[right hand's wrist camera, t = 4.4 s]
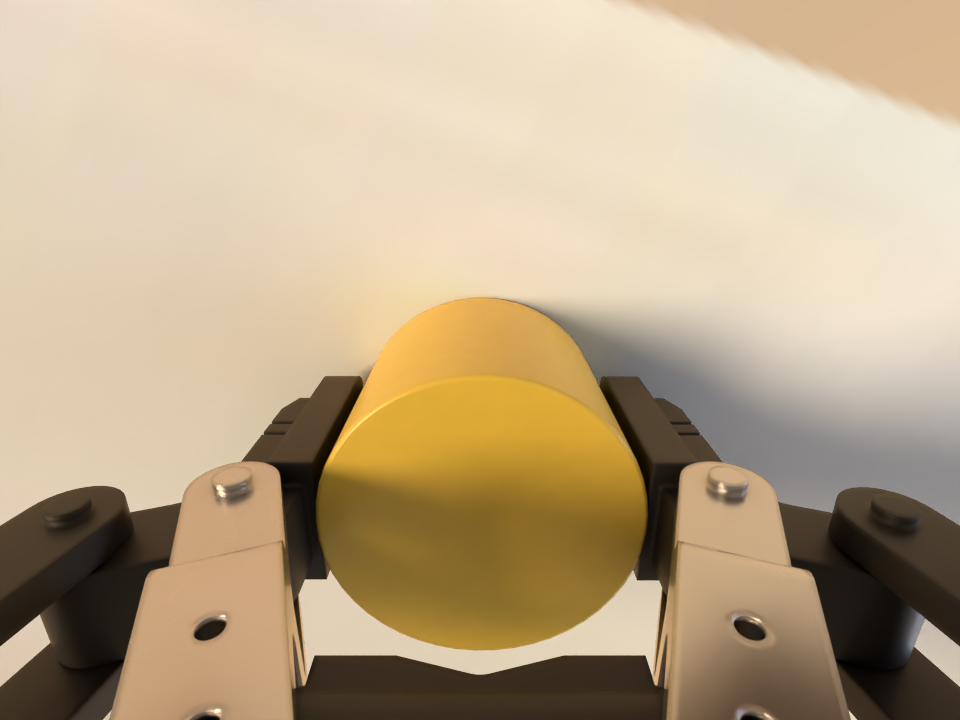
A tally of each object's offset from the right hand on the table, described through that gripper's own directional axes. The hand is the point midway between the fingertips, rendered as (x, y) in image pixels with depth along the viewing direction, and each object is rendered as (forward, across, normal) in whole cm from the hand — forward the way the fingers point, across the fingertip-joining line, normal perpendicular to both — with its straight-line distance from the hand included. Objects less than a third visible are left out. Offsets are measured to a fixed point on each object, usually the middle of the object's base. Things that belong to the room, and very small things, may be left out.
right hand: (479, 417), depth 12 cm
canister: (+1, 0, 0) cm, 1 cm away
